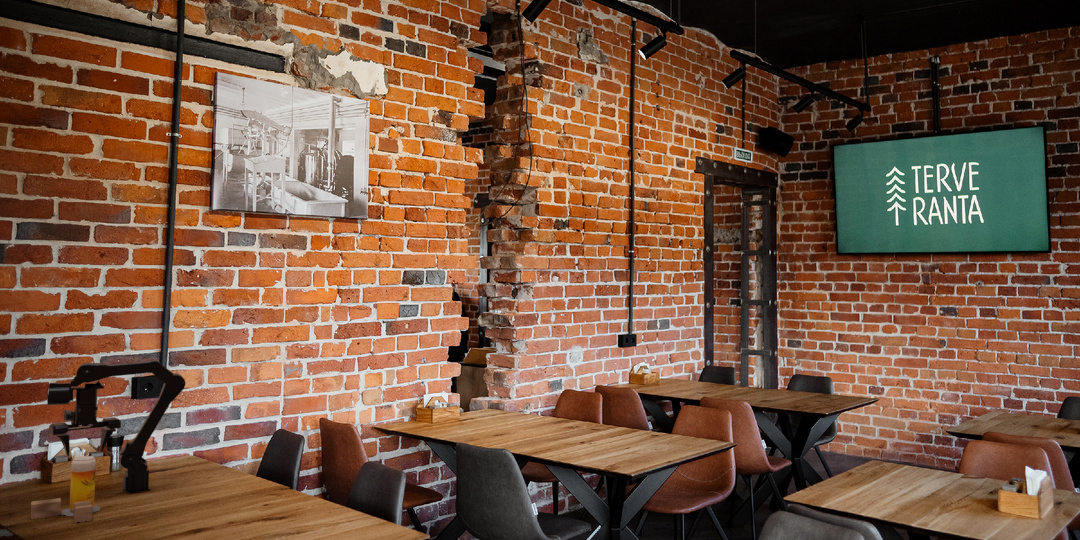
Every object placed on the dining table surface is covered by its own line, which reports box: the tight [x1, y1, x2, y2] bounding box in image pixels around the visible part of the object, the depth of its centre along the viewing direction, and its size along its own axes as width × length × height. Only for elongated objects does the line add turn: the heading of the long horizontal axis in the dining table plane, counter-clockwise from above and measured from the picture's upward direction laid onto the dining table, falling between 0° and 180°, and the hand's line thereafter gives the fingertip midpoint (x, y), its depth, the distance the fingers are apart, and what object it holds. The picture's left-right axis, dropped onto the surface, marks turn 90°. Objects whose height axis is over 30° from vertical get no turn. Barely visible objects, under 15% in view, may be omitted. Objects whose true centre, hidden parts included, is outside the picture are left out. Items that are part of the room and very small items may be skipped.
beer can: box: [69, 455, 97, 512], centre depth 222 cm, size 6×6×15 cm
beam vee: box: [30, 497, 101, 524], centre depth 219 cm, size 15×20×4 cm
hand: (84, 453), depth 237 cm, fingers open, 9 cm apart
